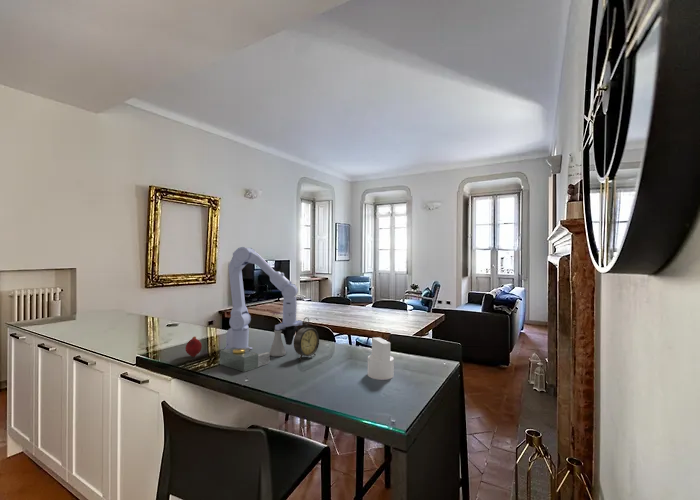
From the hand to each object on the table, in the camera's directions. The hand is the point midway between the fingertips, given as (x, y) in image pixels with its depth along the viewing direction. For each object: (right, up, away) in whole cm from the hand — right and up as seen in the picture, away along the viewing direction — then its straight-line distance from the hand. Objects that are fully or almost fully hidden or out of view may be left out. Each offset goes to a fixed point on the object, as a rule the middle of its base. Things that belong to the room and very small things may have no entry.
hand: (288, 344), depth 146 cm
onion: (-36, -2, -11) cm, 38 cm away
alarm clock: (+8, -3, -9) cm, 13 cm away
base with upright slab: (+37, -3, -28) cm, 46 cm away
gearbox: (-13, -2, -19) cm, 23 cm away
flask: (-4, -3, -5) cm, 7 cm away
